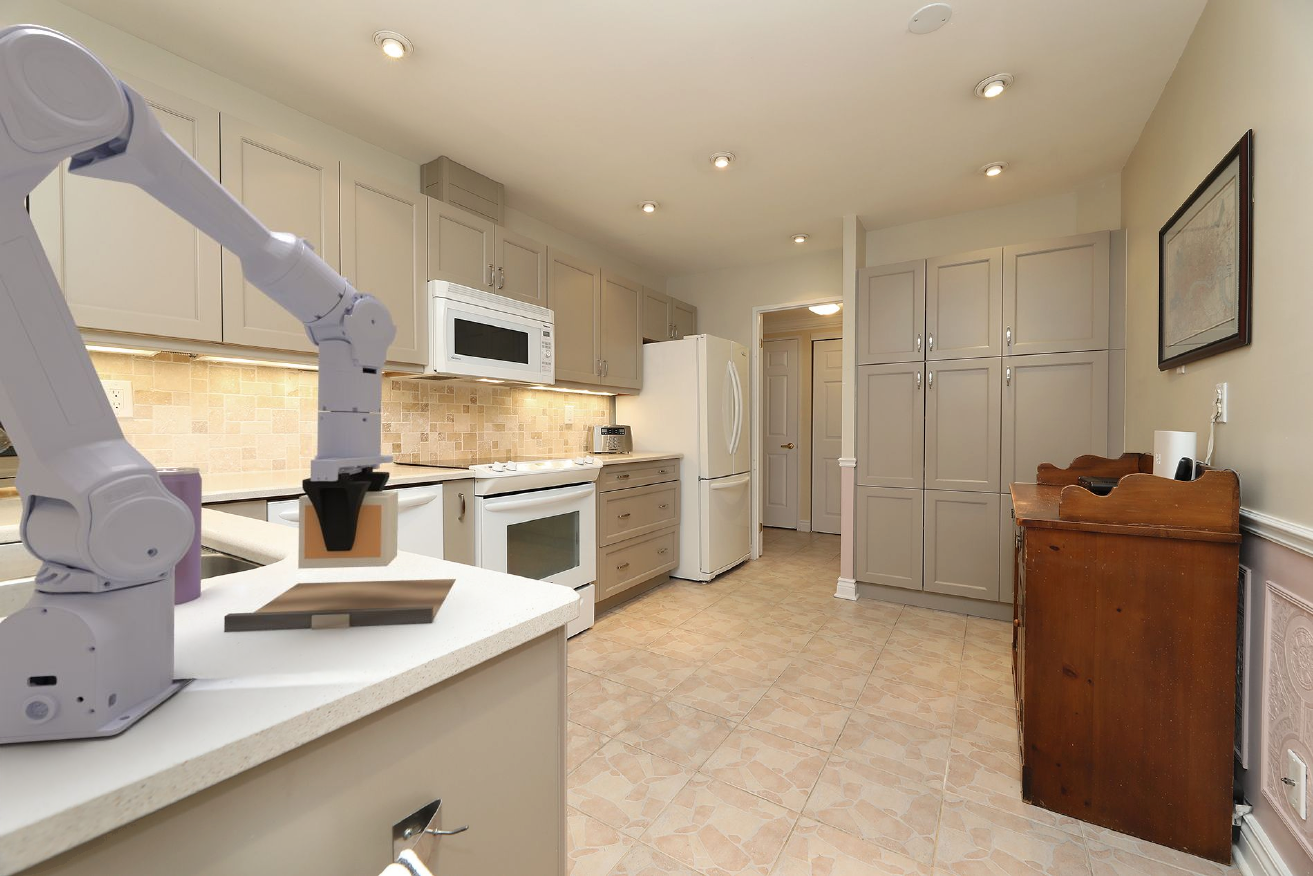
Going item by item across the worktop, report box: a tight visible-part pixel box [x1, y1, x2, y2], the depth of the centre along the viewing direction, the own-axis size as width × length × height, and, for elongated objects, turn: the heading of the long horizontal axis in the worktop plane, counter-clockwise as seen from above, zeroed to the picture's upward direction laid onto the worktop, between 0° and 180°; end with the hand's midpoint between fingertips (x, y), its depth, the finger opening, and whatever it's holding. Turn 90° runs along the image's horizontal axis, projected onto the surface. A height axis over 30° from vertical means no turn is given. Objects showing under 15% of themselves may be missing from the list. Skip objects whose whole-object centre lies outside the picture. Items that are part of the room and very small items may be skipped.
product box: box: [297, 491, 399, 570], centre depth 58 cm, size 5×8×7 cm, turn 103°
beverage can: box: [155, 466, 203, 606], centre depth 60 cm, size 6×6×15 cm
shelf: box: [223, 578, 457, 633], centre depth 61 cm, size 16×18×2 cm
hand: (348, 544), depth 58 cm, fingers closed on product box, 5 cm apart
